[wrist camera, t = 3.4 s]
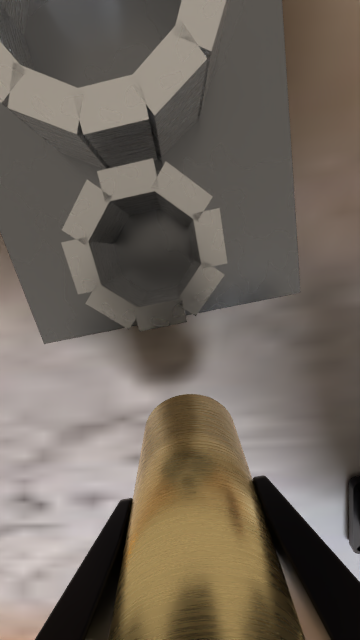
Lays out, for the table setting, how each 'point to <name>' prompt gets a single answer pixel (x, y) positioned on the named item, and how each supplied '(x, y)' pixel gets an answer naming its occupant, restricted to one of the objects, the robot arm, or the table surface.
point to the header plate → (145, 159)
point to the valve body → (198, 537)
